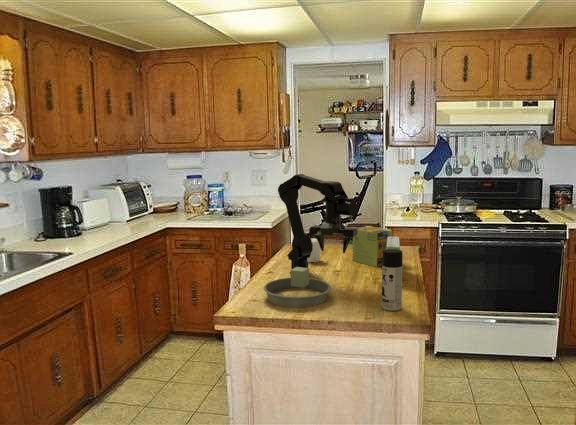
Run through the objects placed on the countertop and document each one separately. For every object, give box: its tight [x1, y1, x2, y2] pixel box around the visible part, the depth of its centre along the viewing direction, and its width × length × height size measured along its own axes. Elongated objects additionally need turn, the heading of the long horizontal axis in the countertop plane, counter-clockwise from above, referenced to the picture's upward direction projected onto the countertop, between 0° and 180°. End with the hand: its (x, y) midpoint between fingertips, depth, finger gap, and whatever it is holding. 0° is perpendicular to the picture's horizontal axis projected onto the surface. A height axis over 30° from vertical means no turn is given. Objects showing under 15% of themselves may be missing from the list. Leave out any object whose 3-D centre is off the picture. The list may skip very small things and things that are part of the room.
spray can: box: [381, 249, 403, 312], centre depth 171 cm, size 7×7×20 cm
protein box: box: [352, 225, 393, 267], centre depth 234 cm, size 10×15×16 cm
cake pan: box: [263, 277, 332, 308], centre depth 186 cm, size 25×25×4 cm
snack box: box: [386, 236, 401, 250], centre depth 210 cm, size 21×6×15 cm, turn 168°
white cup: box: [307, 237, 322, 263], centre depth 238 cm, size 8×8×10 cm
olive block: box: [290, 267, 310, 288], centre depth 187 cm, size 5×5×6 cm
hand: (333, 252), depth 204 cm, fingers open, 9 cm apart
